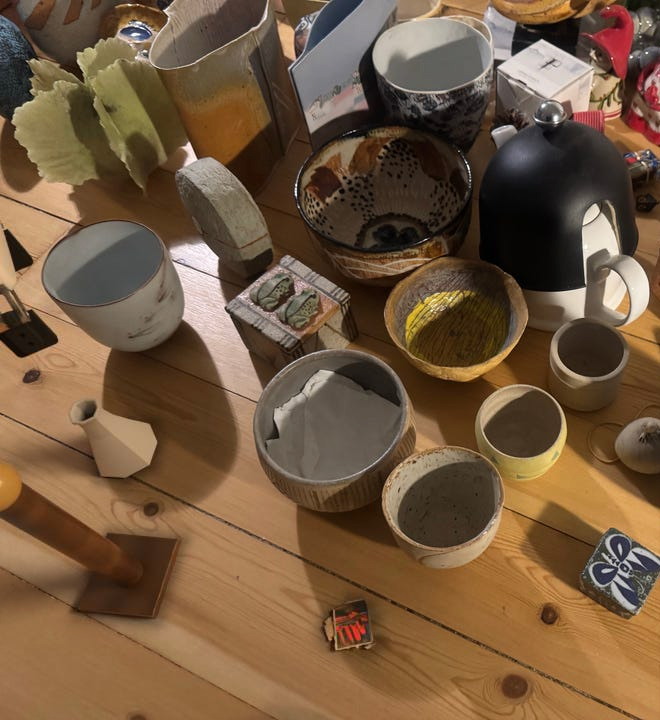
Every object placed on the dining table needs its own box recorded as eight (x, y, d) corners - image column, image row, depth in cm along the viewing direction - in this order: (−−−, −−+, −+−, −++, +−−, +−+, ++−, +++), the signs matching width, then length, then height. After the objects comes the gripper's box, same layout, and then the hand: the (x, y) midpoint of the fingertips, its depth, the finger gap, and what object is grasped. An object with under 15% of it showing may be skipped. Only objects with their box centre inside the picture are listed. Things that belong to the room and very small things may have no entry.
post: (82, 610, 73) (-105, 524, 51) (111, 535, 78) (-50, 425, 55) (156, 618, 73) (0, 533, 50) (181, 541, 77) (47, 432, 54)
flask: (158, 471, 81) (118, 432, 73) (93, 486, 81) (45, 448, 72) (158, 416, 85) (119, 373, 77) (96, 430, 84) (50, 389, 76)
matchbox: (363, 594, 73) (362, 593, 73) (381, 641, 71) (381, 641, 70) (320, 615, 72) (319, 614, 72) (337, 664, 70) (336, 663, 69)
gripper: (-195, 95, 49) (-35, 258, 63) (-178, 260, 41) (1, 403, 55) (-80, 59, 51) (50, 225, 65) (-41, 210, 43) (97, 361, 57)
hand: (27, 307), depth 60 cm, fingers open, 9 cm apart
